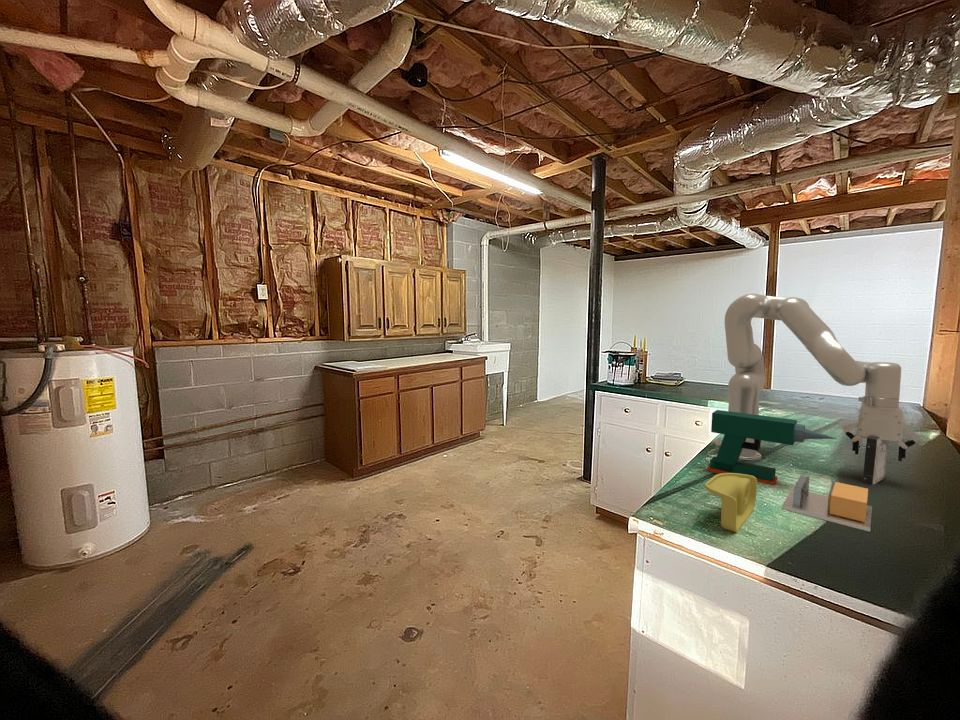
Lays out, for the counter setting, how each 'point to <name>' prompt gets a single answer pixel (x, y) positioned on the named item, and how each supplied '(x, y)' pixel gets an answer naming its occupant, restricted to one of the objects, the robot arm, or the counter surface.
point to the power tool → (757, 429)
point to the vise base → (819, 506)
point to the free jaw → (848, 501)
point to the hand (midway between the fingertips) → (877, 456)
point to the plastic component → (734, 497)
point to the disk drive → (875, 460)
